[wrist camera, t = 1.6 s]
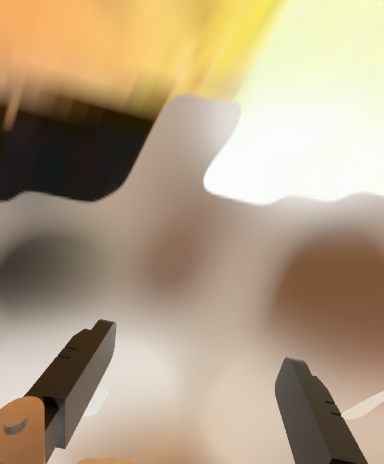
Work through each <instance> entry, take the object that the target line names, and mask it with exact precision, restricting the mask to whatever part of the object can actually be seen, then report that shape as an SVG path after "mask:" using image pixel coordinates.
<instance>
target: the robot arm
mask: <svg viewBox="0 0 384 464" xmlns="http://www.w3.org/2000/svg"><path fill="white" fill-rule="evenodd" d="M115 335H116V322H111V321H107V320H101V319H100V320H98V322H97V323H96V324H95V326H94V327H93V328H92V330H88V329H84V330H82V331H81V332H79V333H78V334H76V335H74V336H73V337H72V338H71V340H70V341H69V342H68V343H67V345H66V346H65V348H64V349H63V350H62V351H61V352H60V354H58V357H56V358H55V359H54V360H53V362H52V363H51V364H50V365H49V367H48V368H47V369H46V370H45V372H44V373H43V374H42V375H41V376H40V378H39V379H38V380H37V381H36V383H35V384H34V385H33V386H32V387H31V389H30V390H29V391H28V392H27V393H26V395H24V397H22V398H19V399H16V400H14V401H12V402H10V403H8V404H7V405H6V406H4V407H3V408H1V409H0V464H47V462H48V460H49V458H50V456H51V455H52V452H53V451H54V449H55V447H58V448H62V449H65V448H66V446H67V444H68V442H69V441H70V439H71V437H72V435H73V433H74V431H75V429H76V427H77V425H78V423H79V421H80V419H81V417H82V415H83V414H84V412H85V410H86V408H87V406H88V404H89V402H90V400H91V398H92V396H93V394H94V392H95V390H96V388H97V386H98V384H99V382H100V381H101V379H102V377H103V375H104V373H105V371H106V369H107V367H108V365H109V363H110V361H111V358H112V355H113V352H114V346H115ZM275 395H276V399H277V403H278V406H279V410H280V413H281V416H282V420H283V423H284V426H285V429H286V433H287V437H288V440H289V443H290V447H291V450H292V454H293V457H294V460H295V464H368V463H367V461H366V459H365V457H364V456H363V454H362V452H361V450H360V448H359V446H358V444H357V443H356V441H355V439H354V437H353V435H352V433H351V432H350V430H349V428H348V426H347V424H346V422H345V420H344V419H343V417H341V413H340V412H339V409H338V408H337V406H336V405H335V402H334V400H333V399H332V397H331V395H330V393H329V391H328V389H327V388H326V387H325V386H324V385H323V383H322V382H321V381H320V380H319V379H318V378H317V376H312V374H311V372H310V370H309V368H308V366H307V364H306V363H305V362H304V361H302V360H297V359H292V358H285V359H284V361H283V364H282V366H281V369H280V372H279V374H278V377H277V380H276V383H275Z"/></svg>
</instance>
